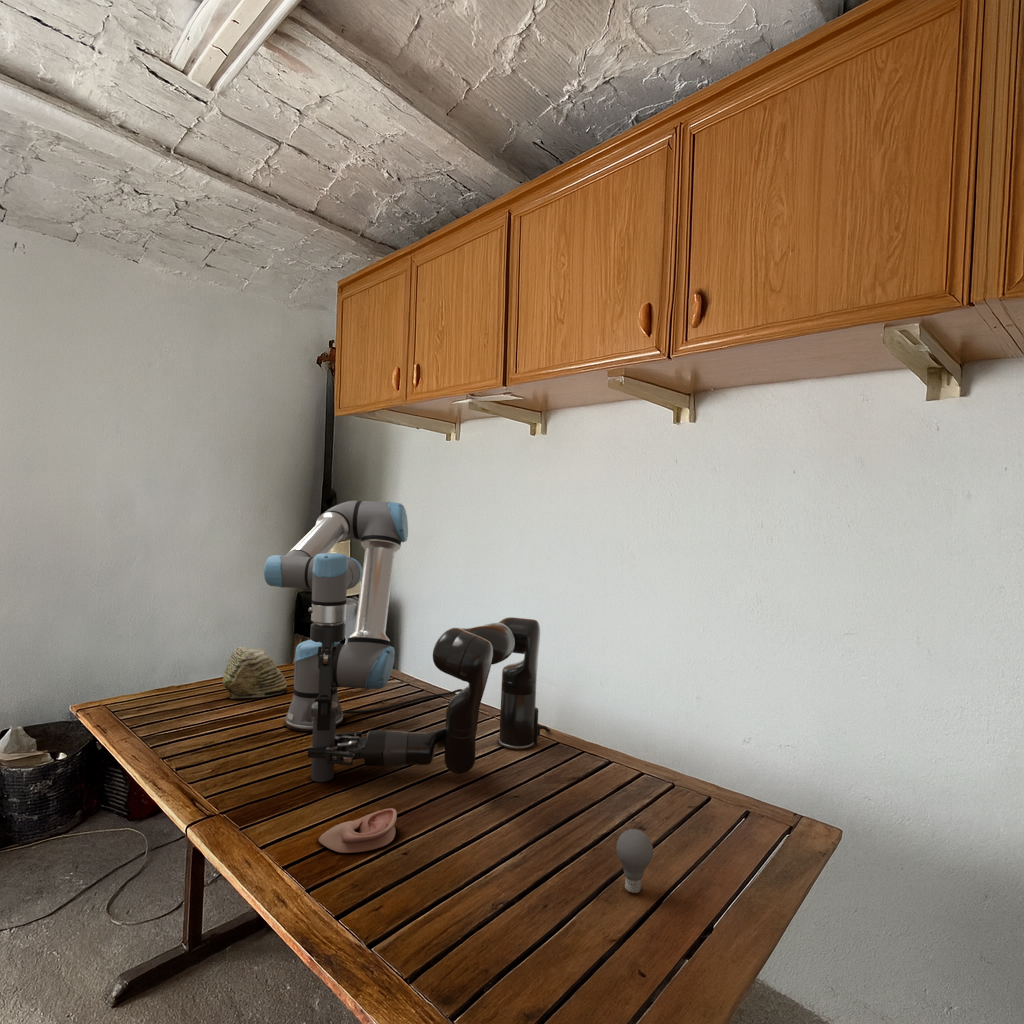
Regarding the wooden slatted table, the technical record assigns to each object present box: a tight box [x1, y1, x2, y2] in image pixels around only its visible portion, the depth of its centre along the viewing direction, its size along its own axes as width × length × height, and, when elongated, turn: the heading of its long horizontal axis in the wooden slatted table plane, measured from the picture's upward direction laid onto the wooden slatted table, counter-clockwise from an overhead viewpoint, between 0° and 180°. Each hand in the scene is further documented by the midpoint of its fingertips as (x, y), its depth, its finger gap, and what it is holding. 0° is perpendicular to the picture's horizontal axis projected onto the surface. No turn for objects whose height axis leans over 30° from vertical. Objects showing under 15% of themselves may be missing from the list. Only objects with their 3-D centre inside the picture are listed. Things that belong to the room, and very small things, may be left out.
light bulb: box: [615, 828, 654, 894], centre depth 106 cm, size 6×6×10 cm
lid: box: [311, 701, 339, 718], centre depth 143 cm, size 6×6×2 cm
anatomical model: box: [318, 807, 398, 854], centre depth 118 cm, size 13×4×12 cm
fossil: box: [222, 646, 288, 699], centre depth 198 cm, size 9×18×15 cm, turn 132°
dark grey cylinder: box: [310, 716, 337, 783], centre depth 143 cm, size 5×5×16 cm
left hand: (324, 722), depth 143 cm, fingers open, 8 cm apart
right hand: (311, 747), depth 143 cm, fingers closed on dark grey cylinder, 5 cm apart
